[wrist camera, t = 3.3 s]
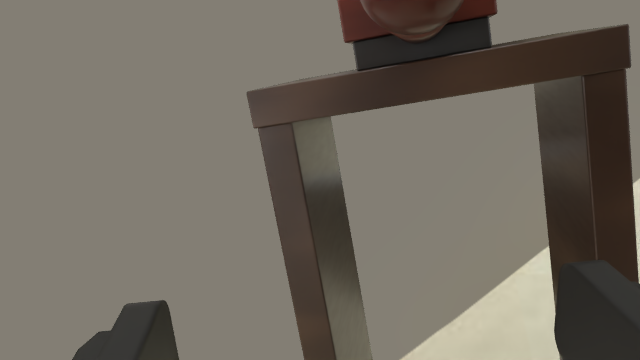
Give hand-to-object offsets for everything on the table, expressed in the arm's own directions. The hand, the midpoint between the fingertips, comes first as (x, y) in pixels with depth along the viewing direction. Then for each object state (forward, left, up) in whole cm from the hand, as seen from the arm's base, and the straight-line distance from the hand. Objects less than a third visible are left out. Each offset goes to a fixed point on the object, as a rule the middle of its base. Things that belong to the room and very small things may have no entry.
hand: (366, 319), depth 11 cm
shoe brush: (+2, +10, +5) cm, 11 cm away
